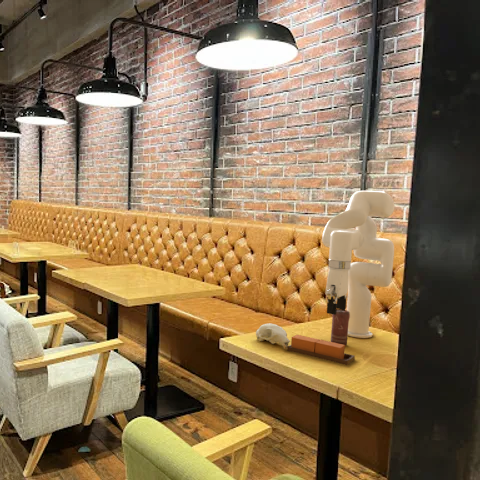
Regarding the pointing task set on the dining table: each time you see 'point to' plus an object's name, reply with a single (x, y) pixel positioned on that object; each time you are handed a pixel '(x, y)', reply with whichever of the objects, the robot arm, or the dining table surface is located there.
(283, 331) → the animal skull
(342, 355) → the back pad right
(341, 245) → the robot arm
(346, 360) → the frame
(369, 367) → the dining table surface
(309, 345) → the back pad left
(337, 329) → the can
